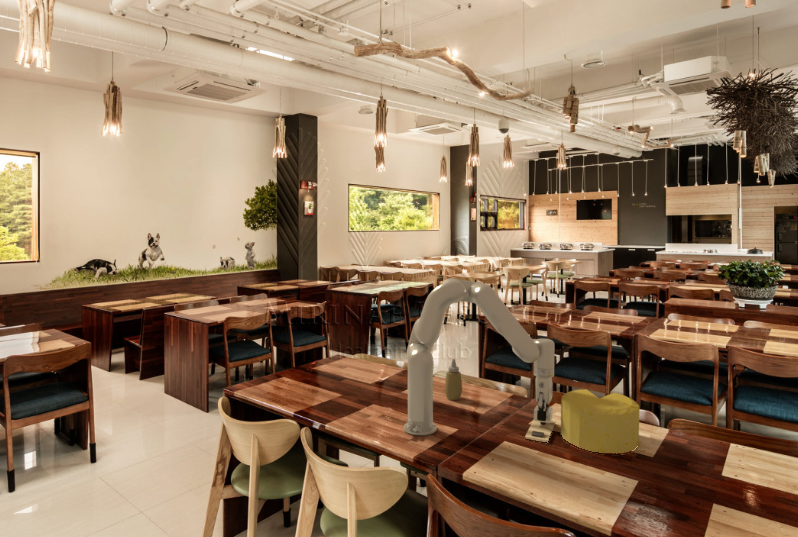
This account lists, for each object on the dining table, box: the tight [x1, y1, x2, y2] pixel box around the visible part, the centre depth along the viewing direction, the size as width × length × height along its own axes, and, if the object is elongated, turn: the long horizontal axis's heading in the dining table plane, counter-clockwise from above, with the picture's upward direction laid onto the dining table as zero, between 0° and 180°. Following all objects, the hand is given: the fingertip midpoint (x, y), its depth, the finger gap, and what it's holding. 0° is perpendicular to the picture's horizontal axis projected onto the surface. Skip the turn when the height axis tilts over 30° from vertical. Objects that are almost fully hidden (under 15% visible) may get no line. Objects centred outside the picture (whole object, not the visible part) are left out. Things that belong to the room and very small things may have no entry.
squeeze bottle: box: [444, 358, 463, 401], centre depth 220 cm, size 8×8×18 cm
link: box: [533, 404, 553, 423], centre depth 187 cm, size 6×6×4 cm
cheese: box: [560, 388, 640, 454], centre depth 176 cm, size 26×26×15 cm
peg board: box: [524, 419, 556, 444], centre depth 183 cm, size 20×8×6 cm, turn 155°
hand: (543, 417), depth 187 cm, fingers closed on link, 6 cm apart
